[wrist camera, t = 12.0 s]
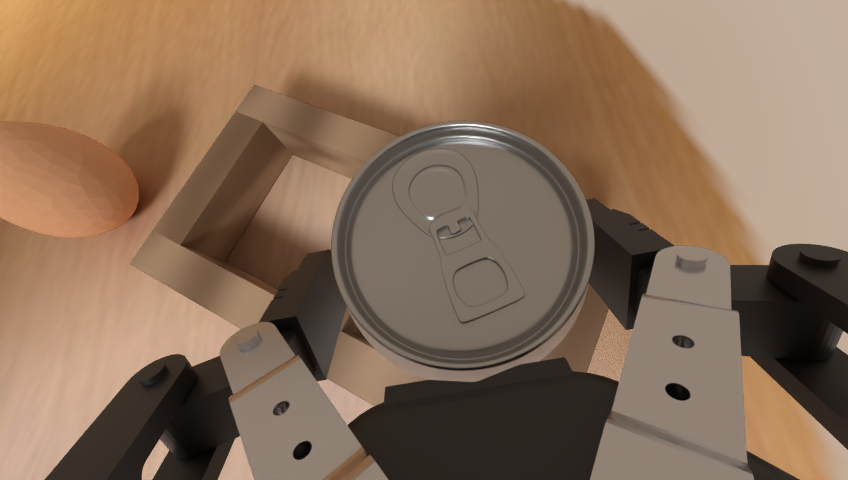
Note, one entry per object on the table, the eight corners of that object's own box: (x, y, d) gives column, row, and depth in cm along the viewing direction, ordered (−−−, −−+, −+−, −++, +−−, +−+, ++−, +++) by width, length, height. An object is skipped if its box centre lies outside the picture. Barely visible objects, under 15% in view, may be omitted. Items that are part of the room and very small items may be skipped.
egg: (140, 153, 25) (-2, 68, 17) (181, 205, 23) (42, 136, 16) (70, 211, 24) (-111, 148, 17) (107, 270, 22) (-77, 229, 15)
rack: (182, 277, 21) (129, 264, 18) (283, 121, 24) (254, 84, 21) (526, 471, 16) (541, 503, 13) (609, 244, 19) (638, 221, 15)
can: (493, 227, 20) (524, 64, 8) (549, 335, 18) (689, 313, 6) (389, 272, 20) (280, 170, 8) (433, 386, 18) (366, 453, 6)
